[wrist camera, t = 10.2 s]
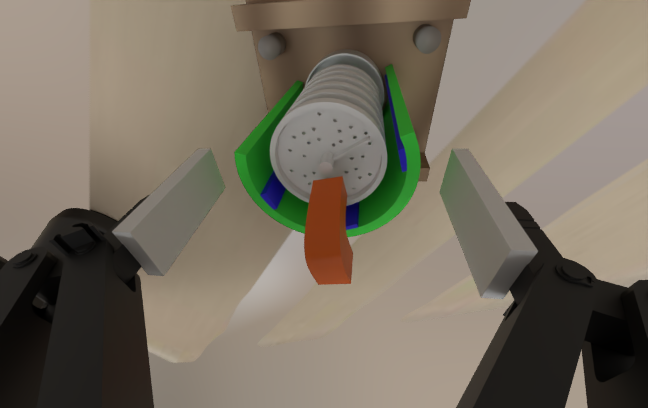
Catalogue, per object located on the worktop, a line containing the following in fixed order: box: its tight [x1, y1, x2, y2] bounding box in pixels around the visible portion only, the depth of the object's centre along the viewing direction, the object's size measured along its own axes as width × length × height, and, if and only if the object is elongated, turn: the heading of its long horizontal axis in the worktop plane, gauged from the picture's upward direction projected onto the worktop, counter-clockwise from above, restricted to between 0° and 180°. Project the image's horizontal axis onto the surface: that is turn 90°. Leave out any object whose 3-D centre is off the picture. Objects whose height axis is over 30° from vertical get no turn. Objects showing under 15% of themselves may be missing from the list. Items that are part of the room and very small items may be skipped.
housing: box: [231, 0, 471, 181], centre depth 23 cm, size 16×15×4 cm
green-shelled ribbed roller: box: [234, 49, 421, 285], centre depth 17 cm, size 9×8×18 cm
